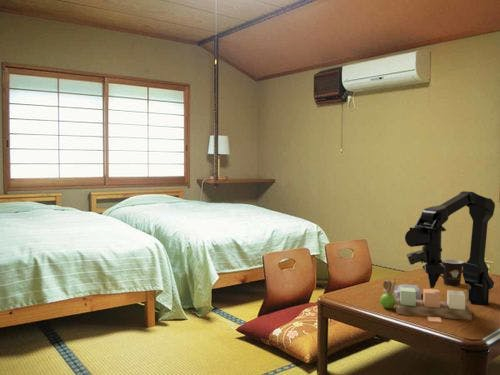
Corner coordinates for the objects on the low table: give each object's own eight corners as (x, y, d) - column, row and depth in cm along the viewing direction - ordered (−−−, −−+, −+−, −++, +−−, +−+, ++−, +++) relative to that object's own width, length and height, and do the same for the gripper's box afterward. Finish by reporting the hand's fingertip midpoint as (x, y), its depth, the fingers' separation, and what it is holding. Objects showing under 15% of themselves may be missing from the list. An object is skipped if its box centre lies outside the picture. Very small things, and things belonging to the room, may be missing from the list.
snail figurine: (388, 312, 158) (389, 278, 158) (376, 306, 164) (377, 274, 164) (400, 309, 161) (401, 277, 160) (388, 304, 167) (388, 273, 166)
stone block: (397, 304, 173) (423, 300, 171) (394, 292, 173) (421, 288, 171) (393, 296, 185) (418, 293, 183) (391, 285, 185) (416, 281, 183)
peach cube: (438, 303, 160) (438, 289, 160) (440, 307, 155) (440, 293, 155) (423, 302, 162) (423, 288, 161) (424, 306, 157) (424, 292, 156)
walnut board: (465, 309, 161) (465, 302, 160) (471, 319, 150) (471, 312, 150) (395, 304, 167) (395, 297, 167) (396, 313, 157) (396, 307, 156)
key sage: (414, 301, 162) (414, 288, 162) (415, 305, 158) (415, 292, 157) (400, 300, 164) (400, 287, 163) (400, 304, 159) (400, 291, 159)
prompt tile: (440, 318, 151) (440, 317, 151) (441, 322, 147) (441, 321, 147) (427, 317, 152) (427, 316, 152) (428, 321, 149) (428, 320, 149)
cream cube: (462, 305, 158) (462, 291, 158) (465, 309, 153) (465, 295, 153) (447, 304, 159) (447, 290, 159) (449, 308, 155) (449, 294, 154)
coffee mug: (464, 283, 195) (464, 260, 195) (461, 287, 188) (461, 264, 188) (435, 279, 202) (436, 257, 201) (432, 284, 194) (432, 261, 194)
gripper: (406, 239, 168) (406, 279, 169) (410, 248, 150) (409, 293, 151) (438, 240, 165) (437, 281, 166) (445, 249, 147) (445, 296, 148)
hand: (431, 287), depth 158 cm, fingers closed
